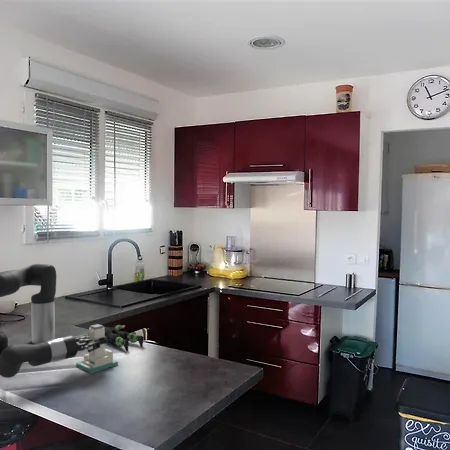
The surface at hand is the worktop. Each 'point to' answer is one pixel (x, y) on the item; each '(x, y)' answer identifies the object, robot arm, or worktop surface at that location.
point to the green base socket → (98, 362)
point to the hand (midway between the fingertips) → (103, 338)
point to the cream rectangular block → (94, 333)
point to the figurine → (121, 337)
